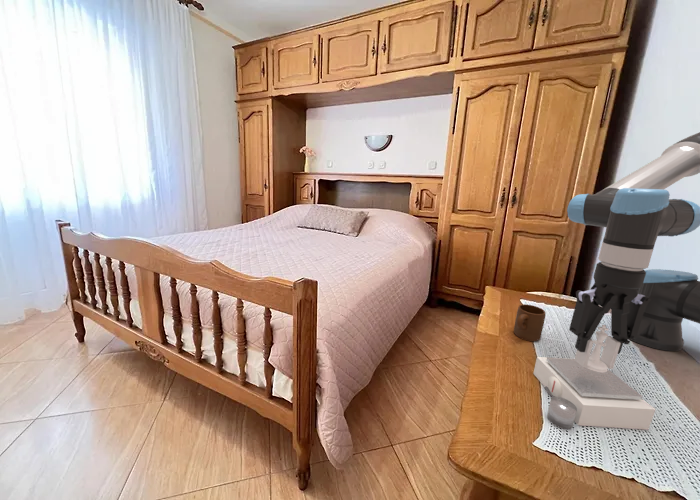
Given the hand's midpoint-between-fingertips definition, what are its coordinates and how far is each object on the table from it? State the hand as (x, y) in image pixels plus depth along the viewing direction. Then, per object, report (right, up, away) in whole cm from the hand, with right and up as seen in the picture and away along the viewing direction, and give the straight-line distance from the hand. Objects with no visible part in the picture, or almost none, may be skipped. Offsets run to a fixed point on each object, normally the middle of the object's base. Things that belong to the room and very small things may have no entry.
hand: (593, 364), depth 64 cm
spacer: (-11, -10, -4) cm, 15 cm away
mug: (+1, -3, +28) cm, 28 cm away
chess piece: (0, -1, 0) cm, 1 cm away
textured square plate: (0, -4, +1) cm, 4 cm away
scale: (0, -9, +2) cm, 9 cm away
